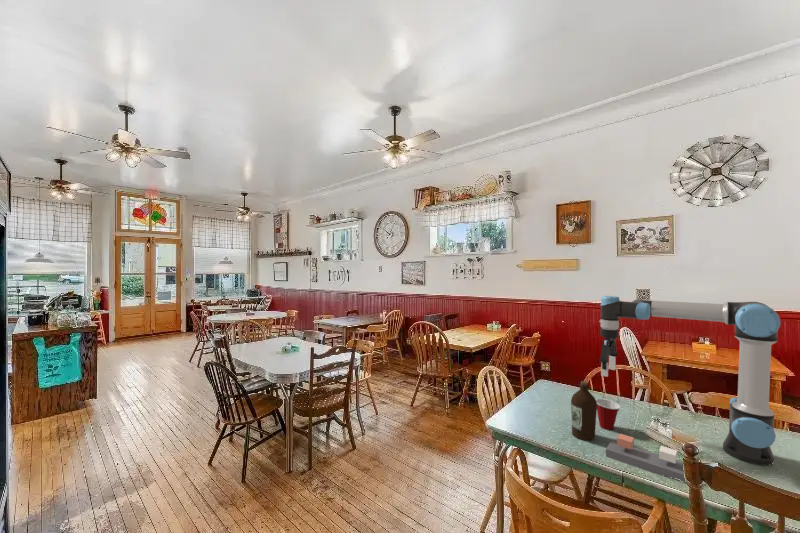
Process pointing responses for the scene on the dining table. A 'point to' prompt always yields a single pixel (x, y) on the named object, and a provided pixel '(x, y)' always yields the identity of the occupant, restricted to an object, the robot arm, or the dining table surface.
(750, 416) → the robot arm
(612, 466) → the dining table surface
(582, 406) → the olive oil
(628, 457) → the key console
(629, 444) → the salmon pink block
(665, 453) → the white key
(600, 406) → the plastic cup
